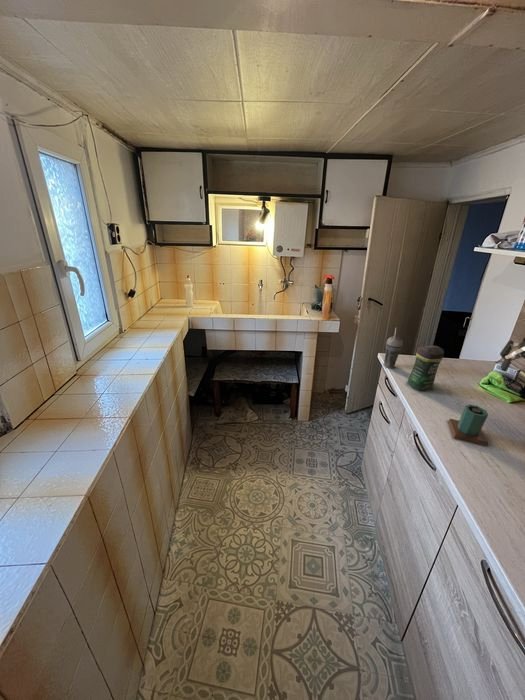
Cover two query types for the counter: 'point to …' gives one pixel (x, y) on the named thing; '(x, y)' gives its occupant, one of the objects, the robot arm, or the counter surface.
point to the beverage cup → (392, 350)
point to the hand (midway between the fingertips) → (519, 374)
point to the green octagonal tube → (472, 420)
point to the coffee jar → (425, 367)
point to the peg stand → (462, 436)
